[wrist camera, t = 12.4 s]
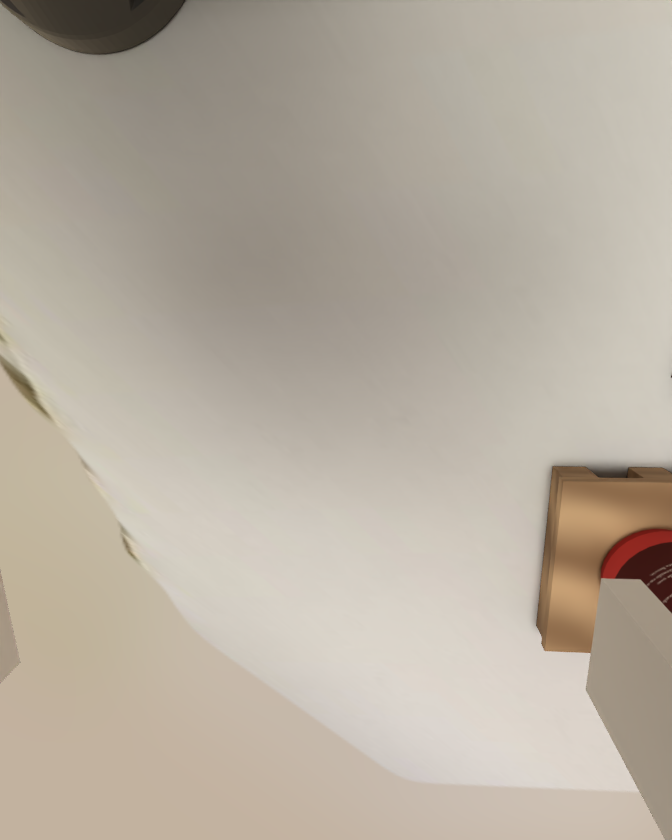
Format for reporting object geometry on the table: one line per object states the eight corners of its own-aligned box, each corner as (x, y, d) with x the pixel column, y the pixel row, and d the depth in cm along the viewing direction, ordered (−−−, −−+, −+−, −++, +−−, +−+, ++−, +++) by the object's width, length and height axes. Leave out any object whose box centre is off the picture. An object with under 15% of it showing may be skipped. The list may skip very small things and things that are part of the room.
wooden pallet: (548, 466, 37) (563, 481, 34) (745, 468, 35) (778, 484, 33) (532, 625, 40) (544, 650, 37) (711, 631, 39) (737, 659, 36)
